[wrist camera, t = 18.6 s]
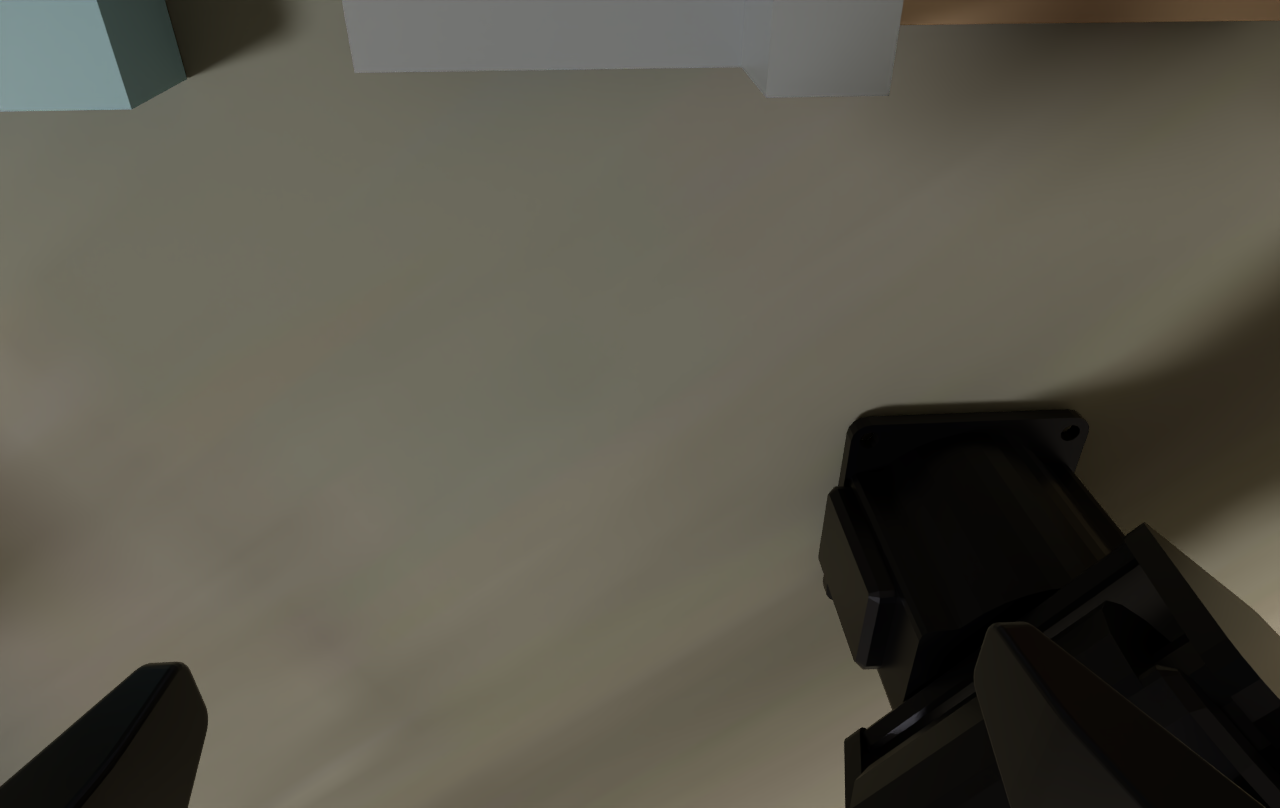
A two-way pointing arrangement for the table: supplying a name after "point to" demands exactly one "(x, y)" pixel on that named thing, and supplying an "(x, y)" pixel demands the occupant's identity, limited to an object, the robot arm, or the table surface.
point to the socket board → (85, 54)
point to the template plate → (1084, 11)
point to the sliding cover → (638, 38)
